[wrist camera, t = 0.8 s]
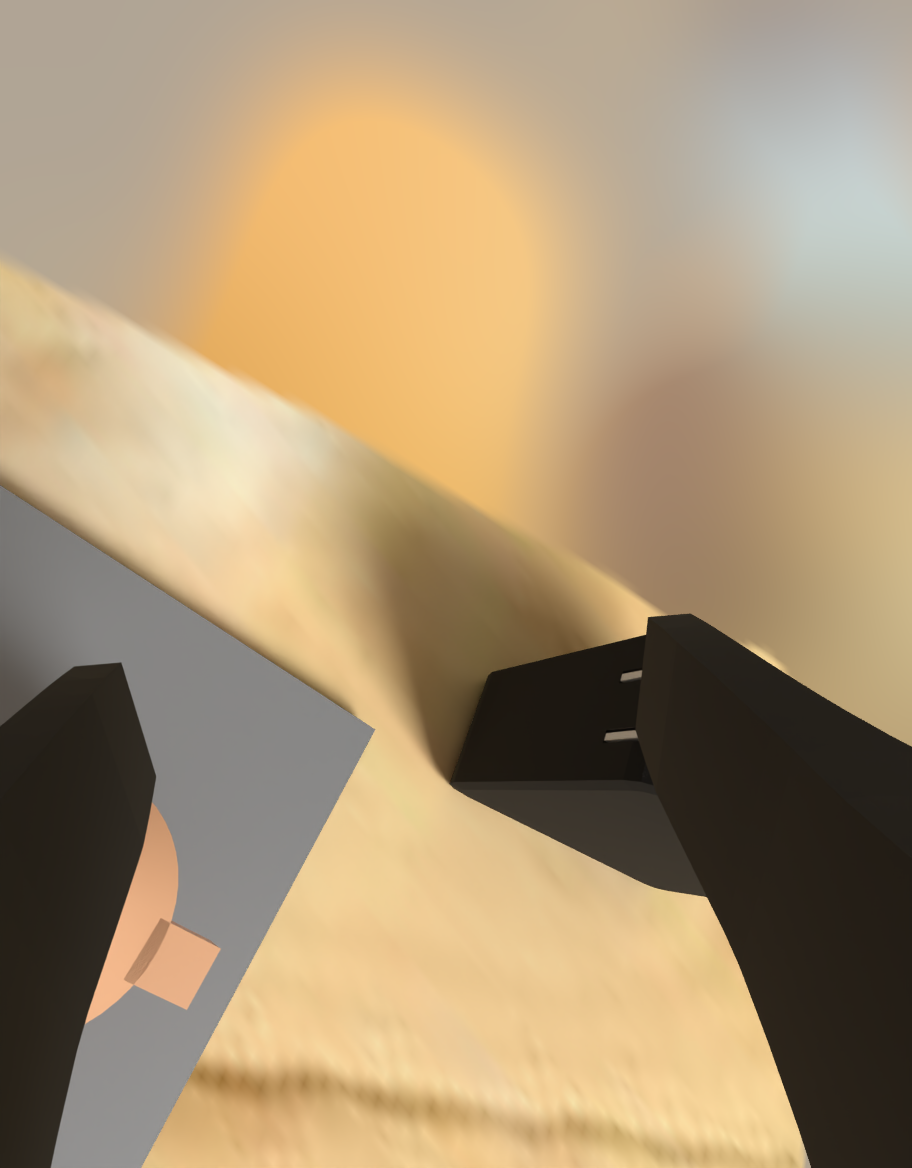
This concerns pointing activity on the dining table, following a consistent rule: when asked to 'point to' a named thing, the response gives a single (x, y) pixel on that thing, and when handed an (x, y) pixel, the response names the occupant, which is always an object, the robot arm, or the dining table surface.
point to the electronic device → (575, 761)
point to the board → (173, 799)
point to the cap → (153, 933)
